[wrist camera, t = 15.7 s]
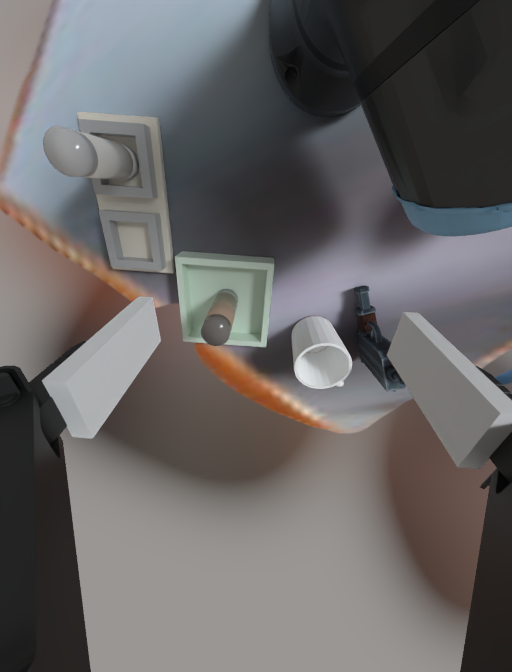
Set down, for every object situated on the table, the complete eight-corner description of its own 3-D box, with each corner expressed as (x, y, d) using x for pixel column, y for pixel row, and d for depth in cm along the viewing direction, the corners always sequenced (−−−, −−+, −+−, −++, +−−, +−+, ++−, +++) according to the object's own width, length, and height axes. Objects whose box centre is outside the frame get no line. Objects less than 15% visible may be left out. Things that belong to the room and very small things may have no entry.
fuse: (106, 143, 33) (36, 123, 23) (137, 145, 34) (79, 127, 23) (113, 178, 36) (51, 175, 25) (142, 180, 36) (91, 178, 25)
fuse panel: (82, 113, 33) (66, 107, 30) (159, 119, 33) (150, 113, 30) (115, 267, 43) (106, 272, 40) (174, 271, 43) (169, 277, 40)
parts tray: (181, 251, 41) (174, 256, 38) (273, 257, 41) (274, 263, 38) (188, 331, 49) (183, 341, 46) (266, 336, 49) (266, 347, 46)
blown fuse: (215, 287, 43) (199, 319, 33) (238, 289, 43) (230, 321, 33) (215, 308, 45) (201, 344, 35) (238, 310, 45) (229, 346, 35)
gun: (405, 294, 29) (419, 406, 33) (362, 283, 46) (375, 359, 49) (381, 300, 30) (398, 410, 34) (347, 287, 46) (361, 362, 50)
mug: (279, 331, 48) (282, 363, 39) (319, 303, 45) (332, 332, 36) (312, 367, 52) (321, 403, 44) (350, 343, 49) (369, 378, 40)
